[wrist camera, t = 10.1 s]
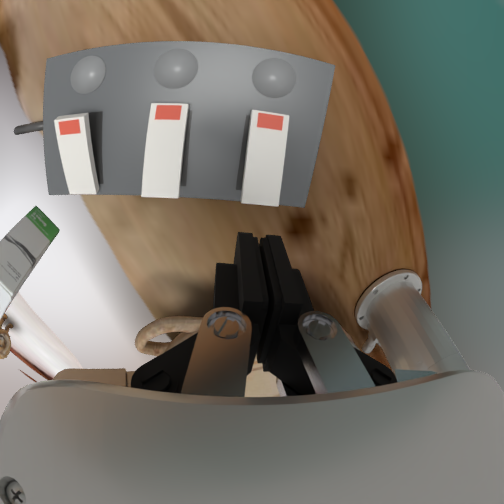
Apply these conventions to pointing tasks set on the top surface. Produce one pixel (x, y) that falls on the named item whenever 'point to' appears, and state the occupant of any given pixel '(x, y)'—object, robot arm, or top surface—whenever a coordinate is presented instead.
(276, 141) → the far-end rocker
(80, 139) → the block
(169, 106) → the middle rocker
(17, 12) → the top surface
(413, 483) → the robot arm
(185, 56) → the grey switch panel
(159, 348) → the ceramic bowl
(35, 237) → the ink box
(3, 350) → the lion figurine
